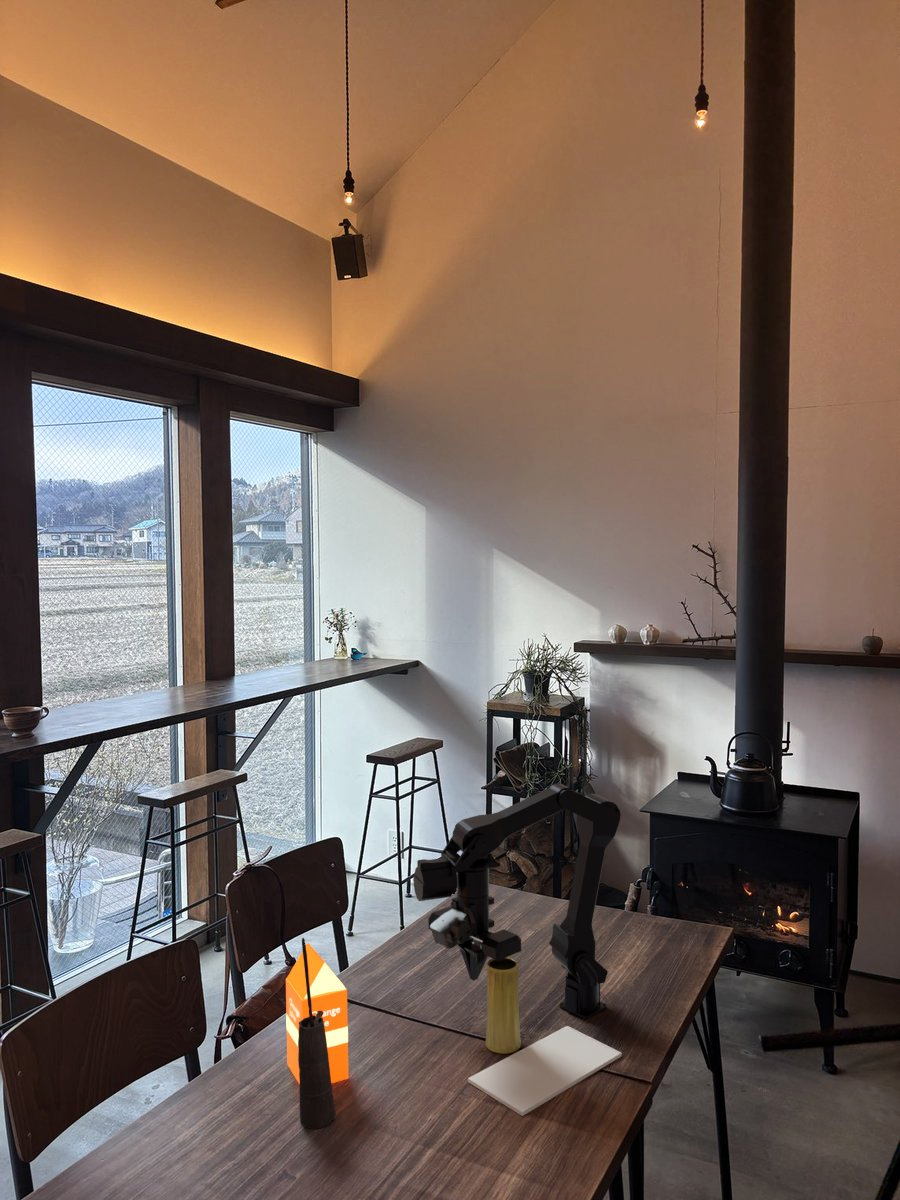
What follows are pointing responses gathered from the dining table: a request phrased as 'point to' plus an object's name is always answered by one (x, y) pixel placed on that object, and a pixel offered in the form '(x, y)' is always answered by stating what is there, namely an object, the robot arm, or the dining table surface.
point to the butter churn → (314, 1066)
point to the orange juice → (325, 998)
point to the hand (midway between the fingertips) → (474, 979)
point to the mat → (544, 1069)
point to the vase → (502, 1006)
